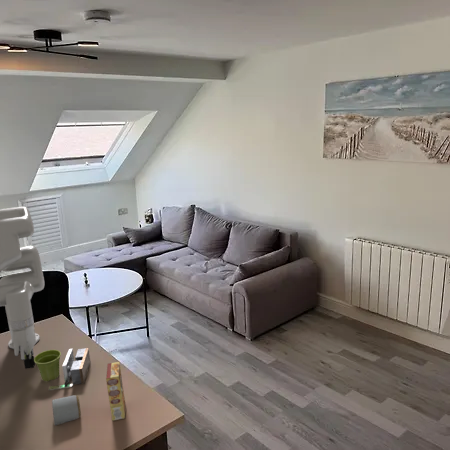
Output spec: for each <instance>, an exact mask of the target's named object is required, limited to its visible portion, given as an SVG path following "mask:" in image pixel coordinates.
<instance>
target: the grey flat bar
mask: <svg viewBox="0 0 450 450" xmlns="http://www.w3.org/2000/svg"><path fill="white" fill-rule="evenodd" d="M74 361H75V357H74V351H73V348H69V349H68V351H67V353H66V356H65V359H64V361H63V364H62V372H63V373H62V374H63V377H64V383H63V385H64V386H66V385H67V384H70V383H69V382H70V379H71V378H72V377H71V367H72V365H73V362H74Z"/></svg>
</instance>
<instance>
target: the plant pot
mask: <svg viewBox="0 0 450 450" xmlns="http://www.w3.org/2000/svg"><path fill="white" fill-rule="evenodd" d="M61 356H62V352H61V351H60V350H58V349H48V350H44V351H42V352H39V353H38V354H37V355H35V356H34V362H35V366H37V368H38V371H39V374H40V376H41V377H40V378H41V380H42V381H43V382H50V381H54V380H56V379H58V378H59V377H60V358H61Z"/></svg>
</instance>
